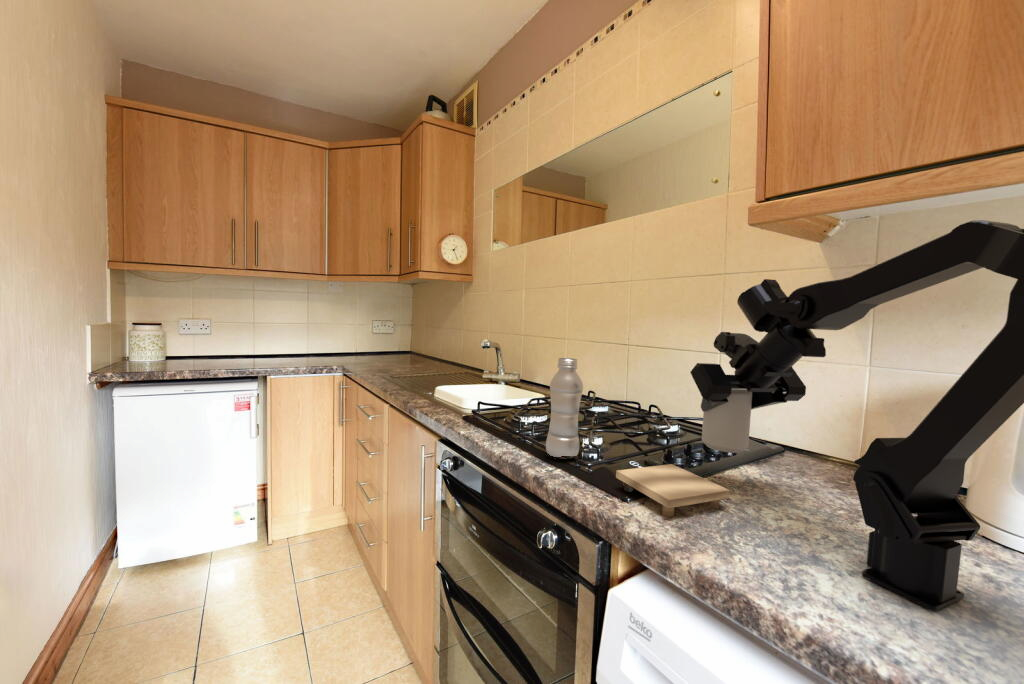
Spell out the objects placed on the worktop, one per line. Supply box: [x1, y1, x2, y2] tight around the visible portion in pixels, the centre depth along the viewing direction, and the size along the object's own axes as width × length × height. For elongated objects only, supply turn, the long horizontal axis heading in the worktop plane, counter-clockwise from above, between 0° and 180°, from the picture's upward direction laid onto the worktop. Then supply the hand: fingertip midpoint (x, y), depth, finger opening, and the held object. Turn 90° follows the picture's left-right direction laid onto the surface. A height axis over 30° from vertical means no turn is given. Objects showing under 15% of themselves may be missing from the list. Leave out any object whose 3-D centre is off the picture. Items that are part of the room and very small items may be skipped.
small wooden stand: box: [615, 463, 731, 518], centre depth 68 cm, size 12×12×3 cm
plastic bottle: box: [545, 357, 584, 457], centre depth 85 cm, size 6×7×20 cm
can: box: [701, 390, 752, 454], centre depth 76 cm, size 8×8×12 cm
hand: (721, 409), depth 78 cm, fingers closed on can, 7 cm apart
